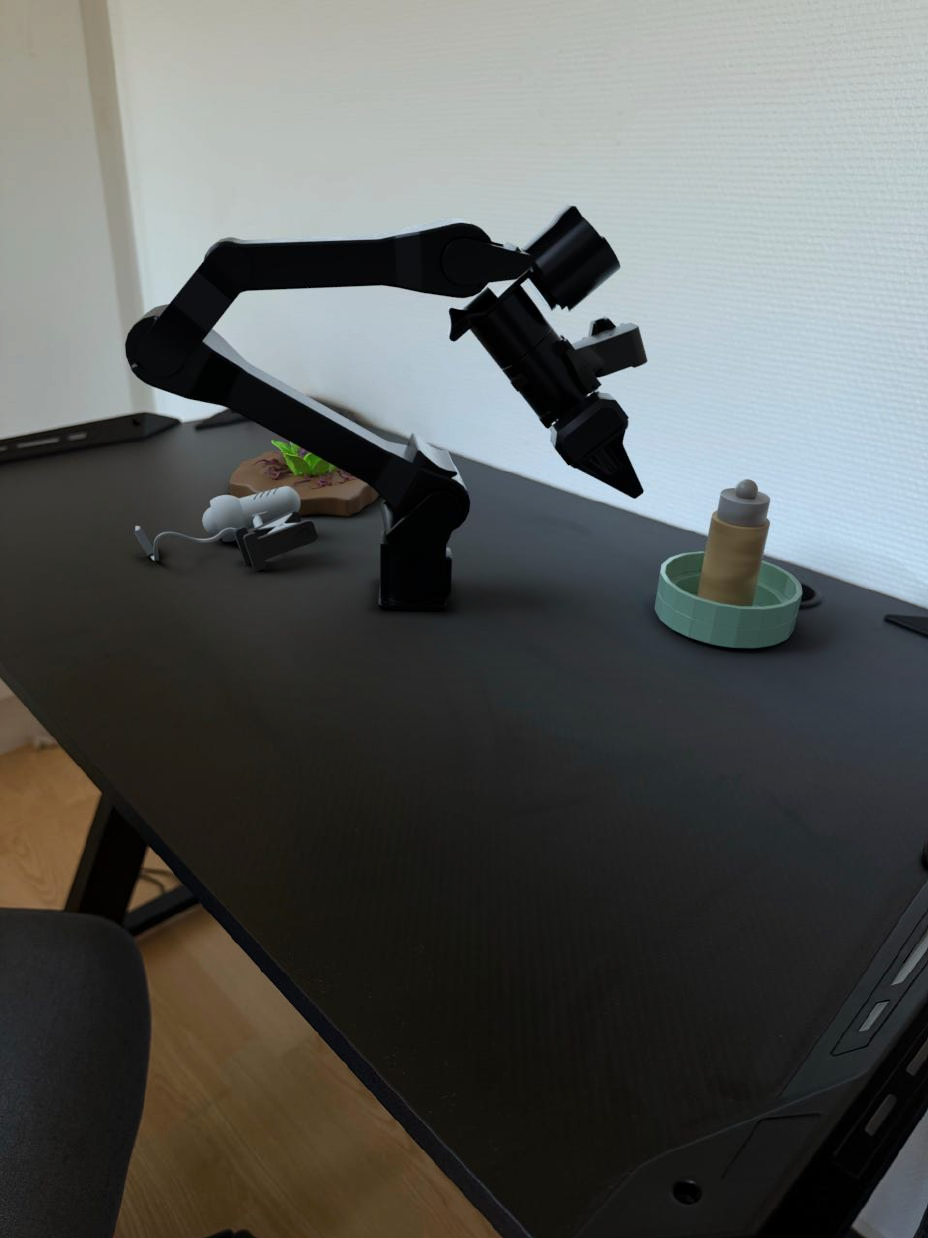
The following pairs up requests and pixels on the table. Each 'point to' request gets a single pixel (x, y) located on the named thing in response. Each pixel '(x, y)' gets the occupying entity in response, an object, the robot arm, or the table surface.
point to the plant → (303, 481)
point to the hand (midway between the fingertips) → (629, 482)
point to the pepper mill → (735, 546)
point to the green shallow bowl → (727, 606)
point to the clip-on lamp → (249, 526)
